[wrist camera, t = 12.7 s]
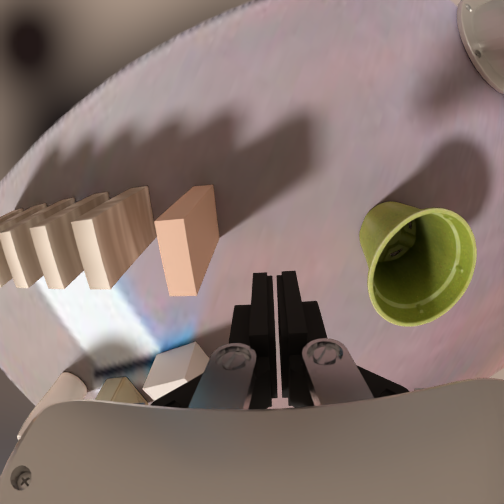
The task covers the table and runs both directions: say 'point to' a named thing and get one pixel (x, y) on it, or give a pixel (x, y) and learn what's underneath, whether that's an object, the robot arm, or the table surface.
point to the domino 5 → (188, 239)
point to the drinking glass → (58, 395)
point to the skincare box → (120, 391)
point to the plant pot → (416, 261)
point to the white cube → (175, 369)
